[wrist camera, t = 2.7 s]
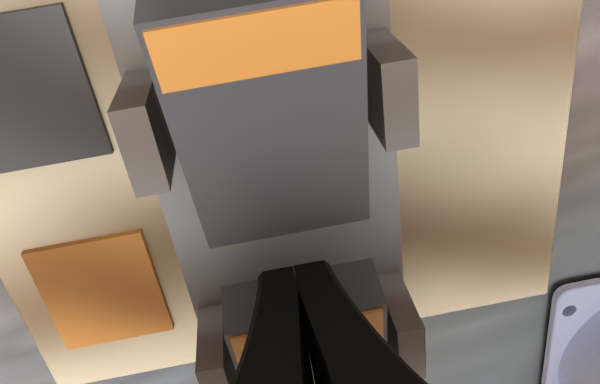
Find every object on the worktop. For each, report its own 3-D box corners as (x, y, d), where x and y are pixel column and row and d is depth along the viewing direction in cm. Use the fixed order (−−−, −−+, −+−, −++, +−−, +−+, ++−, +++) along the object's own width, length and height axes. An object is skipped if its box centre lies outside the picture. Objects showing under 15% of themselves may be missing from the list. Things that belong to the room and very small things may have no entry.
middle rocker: (355, 178, 12) (370, 221, 11) (207, 205, 12) (209, 252, 11) (346, -49, 8) (366, -13, 8) (137, -14, 8) (132, 26, 7)
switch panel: (525, 265, 20) (634, 407, 14) (70, 352, 19) (15, 533, 14) (604, -575, 10) (1026, -1055, 5) (-329, -453, 9) (-1019, -855, 4)
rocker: (375, 374, 15) (388, 420, 14) (257, 397, 15) (262, 445, 14) (371, 257, 12) (388, 307, 11) (220, 286, 12) (223, 338, 11)
